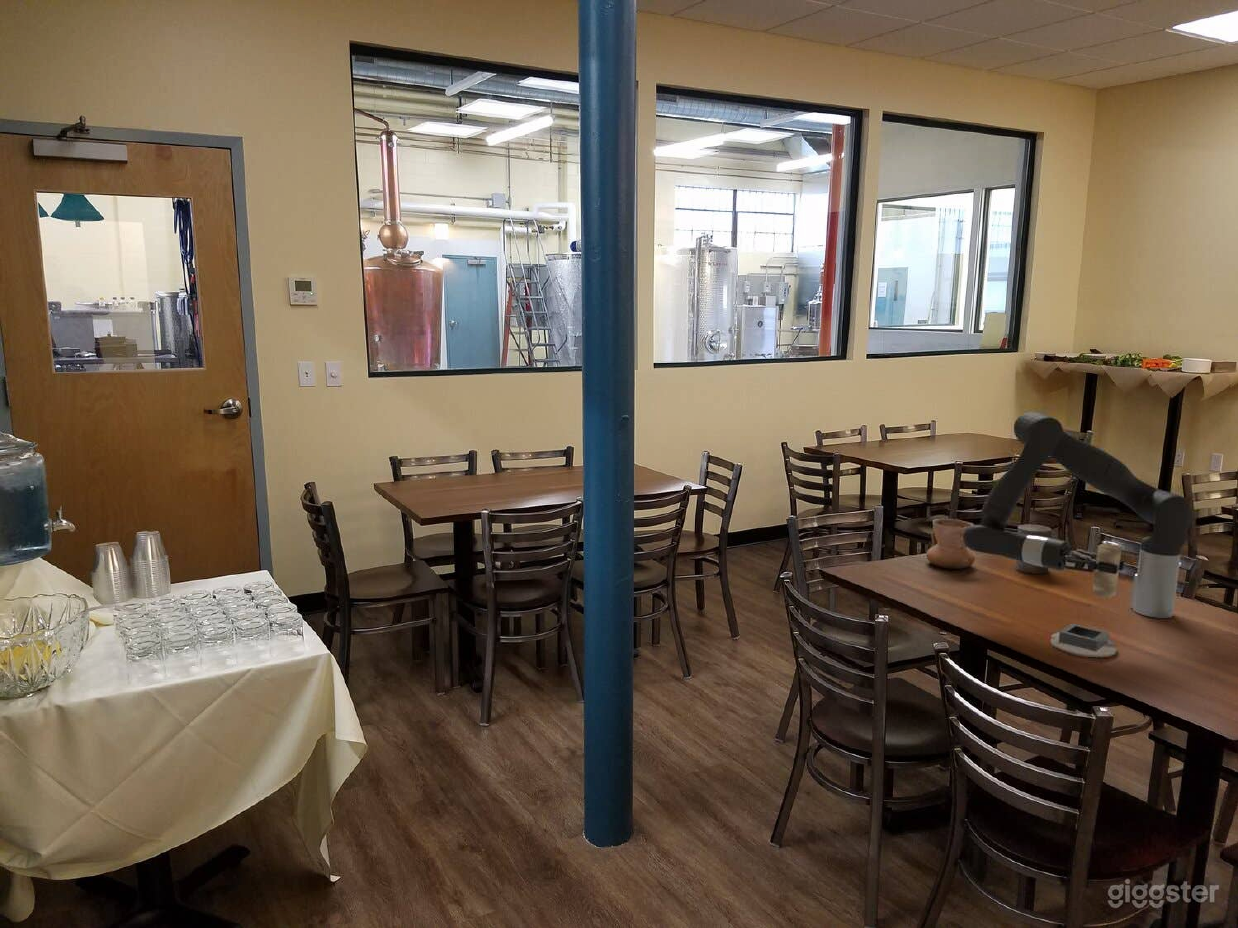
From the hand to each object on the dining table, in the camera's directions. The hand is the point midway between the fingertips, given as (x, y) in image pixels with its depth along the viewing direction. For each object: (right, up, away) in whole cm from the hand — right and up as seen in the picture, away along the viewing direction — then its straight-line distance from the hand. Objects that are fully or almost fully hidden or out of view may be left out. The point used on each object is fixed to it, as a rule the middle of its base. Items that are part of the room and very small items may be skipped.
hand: (1120, 567), depth 206 cm
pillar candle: (+10, -9, +66) cm, 68 cm away
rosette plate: (-7, -20, +4) cm, 21 cm away
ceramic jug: (-14, -8, +71) cm, 72 cm away
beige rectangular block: (-2, -7, +3) cm, 8 cm away
